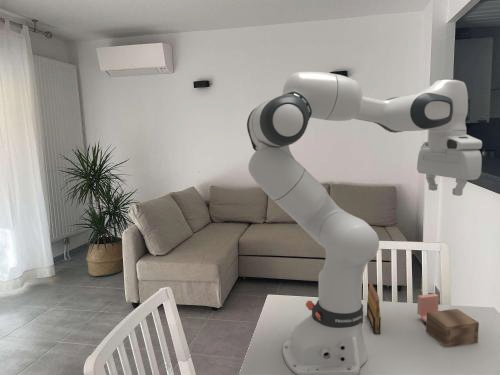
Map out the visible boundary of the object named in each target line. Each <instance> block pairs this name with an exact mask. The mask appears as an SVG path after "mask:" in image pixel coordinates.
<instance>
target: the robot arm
mask: <svg viewBox="0 0 500 375" xmlns="http://www.w3.org/2000/svg"><path fill="white" fill-rule="evenodd" d="M466 85H467V84H466V83H465V82H464V81H462V80H459V79H455V78H442V79H438V80H435V81H434V82H433V84H432V85H430V86H428V87H427V88H426V89H424V90H421V91H418V93H417V92H416V93H414V94H413V93H412V94H409V95H403V96H395V97H389V98H387V99H385V100H381V99H376V98H372V97H366V96H363V91H362V87H361V85H360V84H359V82H358V81H357V80H355V79H353V78H350V77H348V76H345V75H342V74H337V73H332V72H324V71H297V72H294V73H292V74H290V76H289V77H288V78H287V79H286V81H285V82H284V86H283V89H282V95H279V96H277V97H274V98H273V99H270V100H269V99H268V100H266V101H264V102H262V103H260V104H259V105H258V106H256V107H255V108H253V110H252V111H250V113H249V116H248V118H247V121H246V128H247V130H246V131H247V133H248V136H249V139H250V143H251V145H252V149H253V150H254V151H255V152H253V154H252V155H251V158H250V160H249V163H248V173H249V174H250V176H251V177H252V179H253V180H254V181H255V182H256V184H257V185H258V186H259V188H260V189H261V190H263V192H264V194H266V195H267V196H268V197H269V198H270V199H271V200H272V201H273V202H274V203H275V204H276V205H277V206H278V207H280V208H281V209H282V210H283V212H285V213H286V214H287V215H288V216H289V217H291V219H293V220H294V221H295V222H296V223H297V224H298V225H299V227H301V229H303V230H304V231H305V232H306V233H307V234H308V235H309V236H310V237H311V238H312V239H313V240H314V241H315V242H316V243H318V244H319V246H321V247H322V248H324V250H325V259H324V265H323V268H322V269H321V270H320V271H319V274H318V299H317V301H316V303H315V304H314V303H313V301H312V300H307V301H306V303H305V307H306V308H307V309H308V310H309V311H311V314H310V315H309V316H308V317H306V318H305V319H304V320H303V321H301V322H300V323H298V324H297V325H295V326H294V328H293V329H292V331H291V335H290V339H289V340H285V341H284V343H283V344H282V350H281V351H282V353H281V354H282V356H283V360H284V362H285V364H286V365H287V366H288V369H290V370H291V372H293V374H296V375H359V373H360V372H361V370H360V369H361V367H362V366H363V365H364V364H365V363H366V362H367V360H368V352H367V350H366V345H365V341H364V340H365V339H364V334H363V324H364V304H363V302H362V296H363V295H362V294H363V293H362V291H363V288H362V287H363V278H364V272H365V269H366V266H367V264H368V263H369V262H370V261H372V260H373V259H374V258H375V257H376V255H377V253H378V251H379V248H380V240H379V235H378V233H377V232H376V231H375V229H373V227H372V225H370V224H368V223H367V222H366V221H365V220H363V219H362V218H360V217H357V216H355V215H353V214H351V213H350V212H347V211H345V210H344V209H342V208H341V207H339V206H338V205H337V203H336V202H335V201H334V200H333V198H332V197H331V196H330V195H329V193H328V191H327V189H326V187H324V185H322V184H321V183H320V182H319V180H317V179H316V178H315V176H313V175H312V174H311V172H309V171H308V170H307V169H306V168H305V167H304V166H303V165H302V164H301V163H300V162H299V161H297V160H296V159H295V157H294V156H293V154H292V152H291V148H290V145H293V144H295V143H296V142H298V141H299V140H300V139H301V138H302V137H303V136H304V134H305V133H306V131H307V127H308V124H309V121H310V119H318V120H324V121H334V122H340V121H341V122H343V121H344V122H345V121H351V120H358V121H364V122H369V123H374V124H377V125H378V126H380V127H381V128H382V129H384V130H385V131H387V132H389V133H394V134H395V133H403V132H415V131H426V130H428V141H426V142H423V143H422V145H421V146H420V150H419V152H418V155H417V162H416V163H417V164H416V170H417V172H418V174H425V179H426V181H427V183H428V190H429V191H437V190H438V186H439V185H438V184H437V183H436V180H435V178H436V176H437V177H438V176H439V177H444V178H451V179H455V183H456V186H455V187H454V188H452V195H453V196H457V197H461V196H462V195H463V194H464V193H463V190H464V188H465V187H466V185H467V184H468V181H470V180H471V181H472V180H473V181H474V180H478V179H479V178H480V177H481V175H482V166H483V165H482V163H483V162H482V161H483V160H482V159H483V158H482V153H481V151H480V150H481V149H482V147H483V141H482V140H481V139H478V138H476V137H474V136H471V135H469V134H467V126H466V119H467V116H468V110H469V106H468V105H469V95H468V89H467V86H466Z"/></svg>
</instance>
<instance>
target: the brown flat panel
mask: <svg viewBox="0 0 500 375" xmlns="http://www.w3.org/2000/svg"><path fill="white" fill-rule="evenodd" d="M367 293H368V294H367V302H366V318H367V321H368V322H369V325H370V327H371V330H372V332H373V334H374V335H381V324H382V322H381V321H382V320H381V309H380V299H379V298H380V297H379V295H378V293H377V291H376V289H375V287H374V284H373V282H372V281H370V283H369V285H368V292H367Z"/></svg>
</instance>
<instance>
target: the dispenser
mask: <svg viewBox="0 0 500 375" xmlns="http://www.w3.org/2000/svg"><path fill="white" fill-rule="evenodd" d="M425 323H426V327H425V328H426V329H425V332H426V333H427V334H428V335H429V336H431V337H433V338H434V339H435V340H436V342H438V343H440V344H441V345H442V346H443V347H444V348H451V347H457V346H465V345H470V344H472V345H473V344H476V343H478V342H479V328H480V327H479V326H480V322H479V321H478V320H476V319H474V318H473V317H471V316H470V315H467V314H466V313H464V311H461V310H460V309H458V308H453V309H445V310H438V311H435V312H428V313H427V322H425Z"/></svg>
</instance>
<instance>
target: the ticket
mask: <svg viewBox="0 0 500 375" xmlns="http://www.w3.org/2000/svg"><path fill="white" fill-rule="evenodd" d="M439 297H440V296H439V295H438V294H436V293H428V294H421V295H420V294H419V295H418V296H417V315H419V316H420V319H421V320H422V321H424V322H425V323H426V322H427V313H428V312H435V311H439V302H440V301H439Z"/></svg>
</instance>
